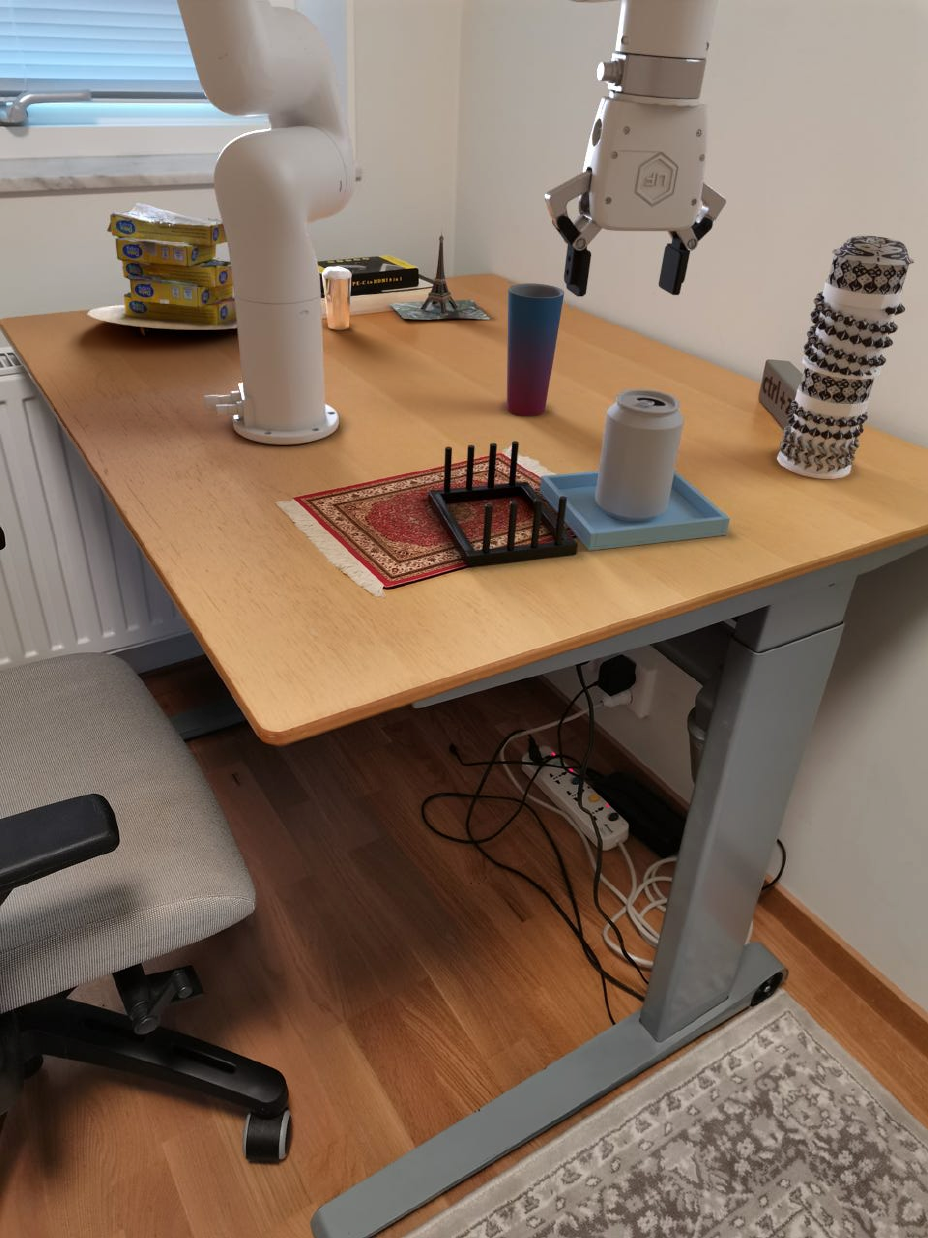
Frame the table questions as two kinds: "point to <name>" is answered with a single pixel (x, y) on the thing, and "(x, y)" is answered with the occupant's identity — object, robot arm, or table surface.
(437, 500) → the dish rack
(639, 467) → the can
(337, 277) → the glass of beer
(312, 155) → the robot arm
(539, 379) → the cup
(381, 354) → the table surface
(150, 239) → the stacked yellow boxes
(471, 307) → the eiffel tower figurine
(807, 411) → the decorative candle
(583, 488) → the tray
